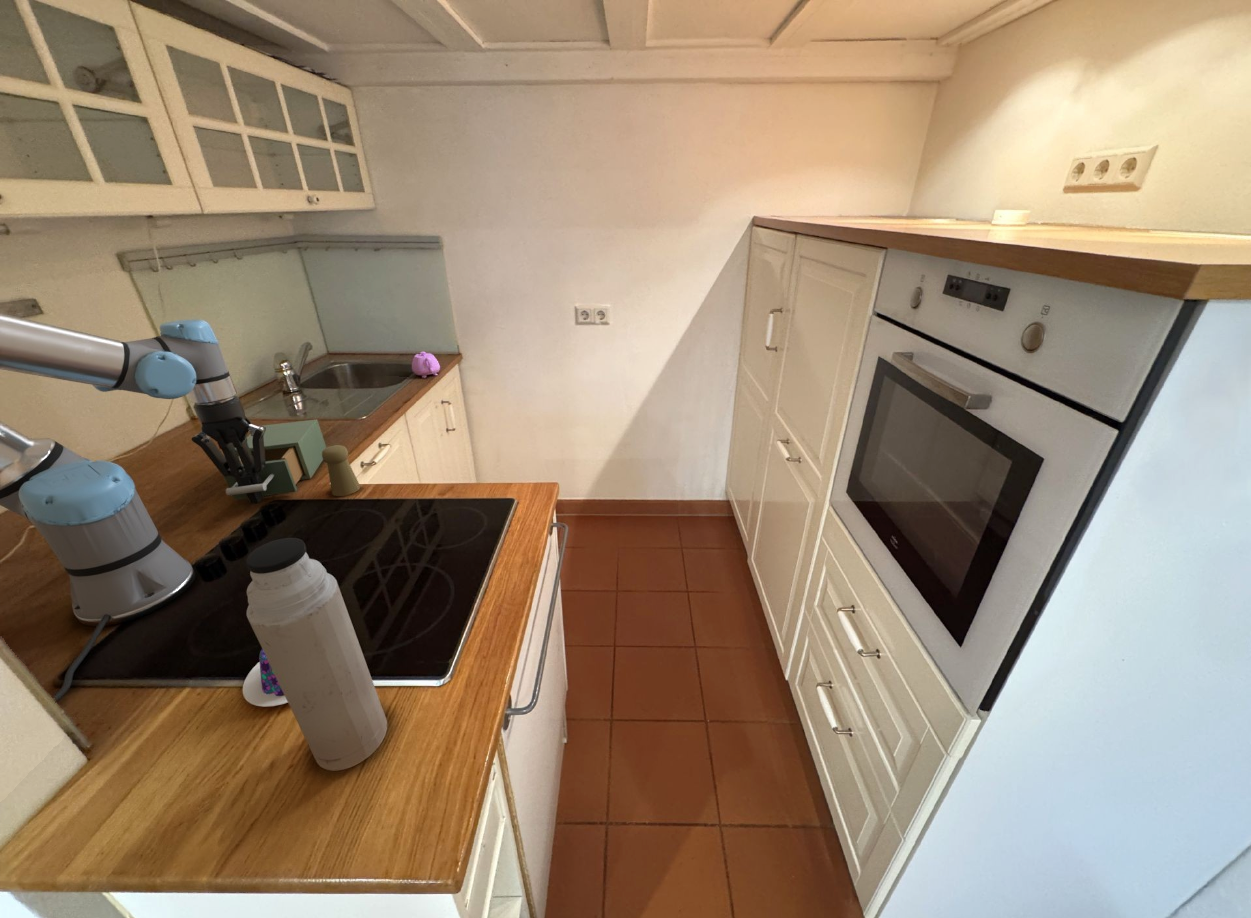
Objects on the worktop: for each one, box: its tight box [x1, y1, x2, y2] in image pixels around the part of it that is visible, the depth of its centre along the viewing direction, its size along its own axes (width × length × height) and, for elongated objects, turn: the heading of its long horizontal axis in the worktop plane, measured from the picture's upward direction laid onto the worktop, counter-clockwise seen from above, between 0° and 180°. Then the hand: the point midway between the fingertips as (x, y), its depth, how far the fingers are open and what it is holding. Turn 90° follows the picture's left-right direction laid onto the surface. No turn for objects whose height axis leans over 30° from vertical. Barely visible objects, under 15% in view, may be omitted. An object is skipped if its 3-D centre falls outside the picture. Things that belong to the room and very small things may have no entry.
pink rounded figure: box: [411, 351, 441, 379], centre depth 202 cm, size 10×15×9 cm
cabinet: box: [235, 419, 327, 481], centre depth 127 cm, size 16×14×10 cm
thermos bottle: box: [245, 537, 388, 772], centre depth 54 cm, size 8×8×28 cm
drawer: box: [223, 446, 304, 501], centre depth 116 cm, size 21×13×8 cm, turn 14°
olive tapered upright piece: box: [322, 444, 361, 497], centre depth 115 cm, size 6×6×11 cm
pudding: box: [242, 648, 289, 708], centre depth 69 cm, size 12×12×5 cm
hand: (256, 500), depth 110 cm, fingers closed
